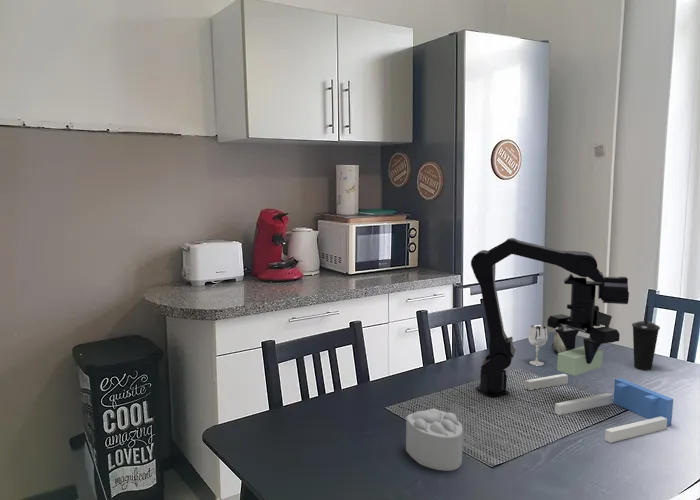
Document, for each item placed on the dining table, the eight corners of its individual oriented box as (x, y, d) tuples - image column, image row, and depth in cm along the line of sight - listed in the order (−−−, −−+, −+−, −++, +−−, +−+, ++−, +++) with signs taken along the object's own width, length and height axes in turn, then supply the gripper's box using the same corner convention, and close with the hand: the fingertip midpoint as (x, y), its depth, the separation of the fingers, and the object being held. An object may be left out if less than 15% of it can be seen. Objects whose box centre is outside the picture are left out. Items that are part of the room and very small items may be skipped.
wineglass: (548, 366, 171) (550, 329, 169) (530, 366, 171) (532, 329, 170) (542, 360, 177) (544, 324, 175) (524, 360, 177) (526, 324, 175)
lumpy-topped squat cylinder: (440, 437, 124) (441, 401, 123) (474, 465, 112) (475, 425, 111) (399, 446, 120) (400, 408, 119) (431, 475, 108) (432, 434, 107)
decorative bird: (558, 361, 177) (559, 339, 176) (549, 346, 192) (550, 325, 191) (575, 362, 176) (577, 339, 175) (565, 347, 191) (566, 326, 190)
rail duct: (610, 442, 121) (612, 415, 120) (514, 390, 151) (515, 368, 150) (675, 426, 129) (677, 400, 129) (571, 380, 159) (572, 359, 158)
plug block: (574, 375, 136) (575, 358, 135) (557, 370, 140) (557, 353, 140) (601, 366, 143) (602, 350, 142) (584, 361, 147) (585, 345, 146)
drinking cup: (623, 365, 172) (627, 304, 169) (640, 362, 175) (644, 301, 173) (645, 373, 165) (650, 309, 162) (662, 369, 168) (667, 306, 166)
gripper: (637, 305, 134) (633, 366, 136) (577, 292, 151) (575, 346, 153) (604, 310, 129) (601, 373, 131) (546, 295, 146) (544, 351, 148)
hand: (580, 360), depth 141 cm, fingers closed on plug block, 5 cm apart
